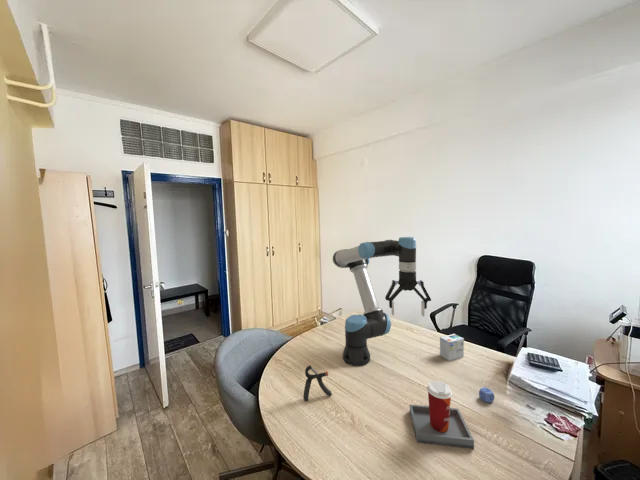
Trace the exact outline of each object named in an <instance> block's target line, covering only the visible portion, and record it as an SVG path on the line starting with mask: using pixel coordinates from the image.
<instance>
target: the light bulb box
mask: <svg viewBox="0 0 640 480" xmlns="http://www.w3.org/2000/svg"><path fill="white" fill-rule="evenodd" d="M464 345H465V338H464V337H461V336H460V335H458V334H456V333H452V334H451V333H450V334H449V335H444V336H440V337H439V355H440V357H442V358H444V359H445V360H446V361H448V362H449V361H453V360H457V359H461V358H464V356H465V355H464V354H465V353H464V351H465V347H464Z"/></svg>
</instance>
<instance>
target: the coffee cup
mask: <svg viewBox="0 0 640 480" xmlns="http://www.w3.org/2000/svg"><path fill="white" fill-rule="evenodd" d="M426 390H427V394H428V406H429V413H430V424H431V427H432V428H433V429H434V430H436V431H438V432H442V433H444V432H447V431H448V427H449V415H450V408H451V399H452V396H453V393H452V390H451V387H450V386H449V385H448V384H447V383H445V382H442V381H439V380H432V381H429V382H428V384H427V387H426Z"/></svg>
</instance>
